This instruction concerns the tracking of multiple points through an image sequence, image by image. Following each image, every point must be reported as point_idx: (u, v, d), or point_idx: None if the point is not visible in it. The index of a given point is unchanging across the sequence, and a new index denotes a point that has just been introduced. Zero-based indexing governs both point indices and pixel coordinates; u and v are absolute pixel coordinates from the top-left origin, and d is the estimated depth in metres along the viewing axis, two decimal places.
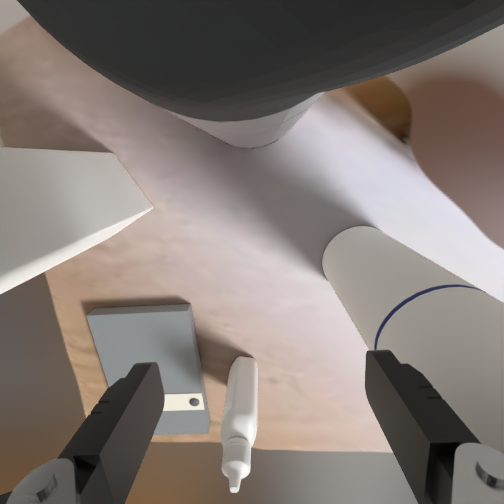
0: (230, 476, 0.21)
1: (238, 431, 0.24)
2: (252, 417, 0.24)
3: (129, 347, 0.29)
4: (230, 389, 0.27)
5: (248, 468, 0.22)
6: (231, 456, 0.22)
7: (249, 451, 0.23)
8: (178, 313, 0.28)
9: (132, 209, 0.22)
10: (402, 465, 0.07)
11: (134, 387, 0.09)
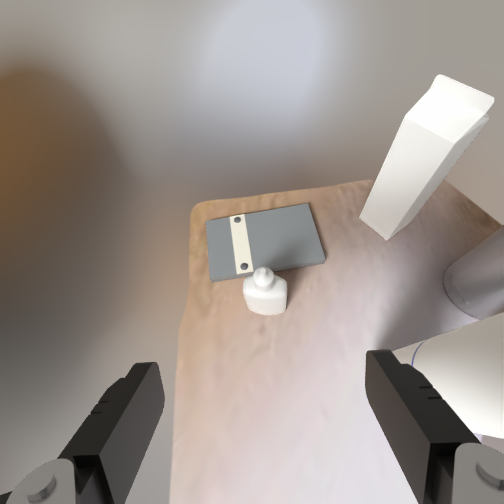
0: (265, 270, 0.29)
1: (275, 283, 0.32)
2: (283, 294, 0.32)
3: (288, 225, 0.44)
4: None
5: (267, 284, 0.29)
6: None
7: (268, 288, 0.30)
8: (322, 253, 0.41)
9: (398, 225, 0.39)
10: (402, 465, 0.07)
11: (134, 387, 0.09)
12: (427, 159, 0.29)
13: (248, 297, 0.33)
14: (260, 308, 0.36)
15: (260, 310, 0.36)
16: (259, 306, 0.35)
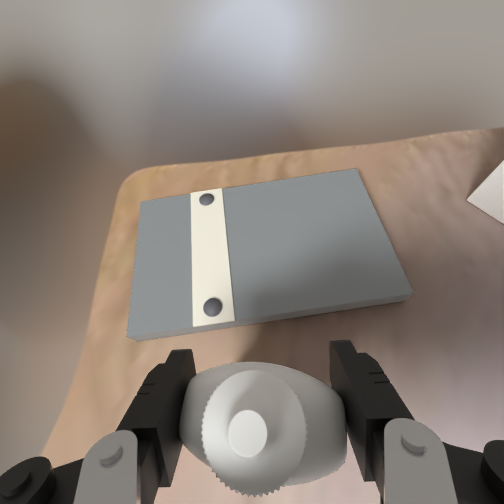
0: (265, 406, 0.05)
1: None
2: (338, 466, 0.08)
3: (316, 212, 0.20)
4: None
5: (272, 488, 0.05)
6: None
7: None
8: (403, 279, 0.17)
9: None
10: (352, 443, 0.08)
11: (176, 371, 0.09)
12: None
13: None
14: None
15: None
16: None
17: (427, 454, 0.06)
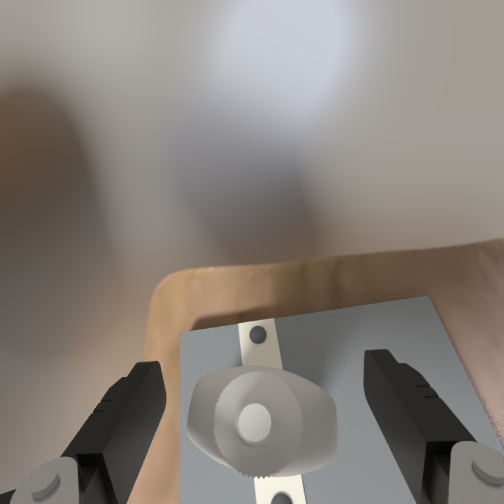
0: (268, 401, 0.06)
1: None
2: (330, 459, 0.09)
3: None
4: None
5: (273, 471, 0.06)
6: None
7: None
8: None
9: None
10: (399, 464, 0.07)
11: (136, 386, 0.09)
12: None
13: None
14: None
15: None
16: None
17: None
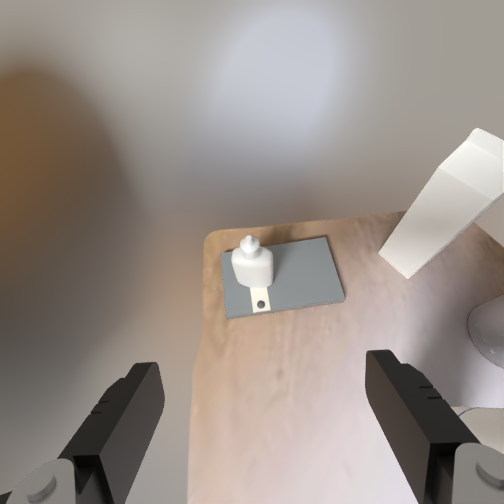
0: (251, 238, 0.32)
1: (261, 252, 0.34)
2: (269, 263, 0.34)
3: (305, 260, 0.42)
4: None
5: (252, 251, 0.32)
6: None
7: (254, 256, 0.33)
8: (341, 292, 0.39)
9: (421, 266, 0.38)
10: (402, 465, 0.07)
11: (134, 387, 0.09)
12: (461, 210, 0.28)
13: (236, 266, 0.35)
14: (248, 279, 0.38)
15: (248, 282, 0.39)
16: (247, 277, 0.37)
17: None
